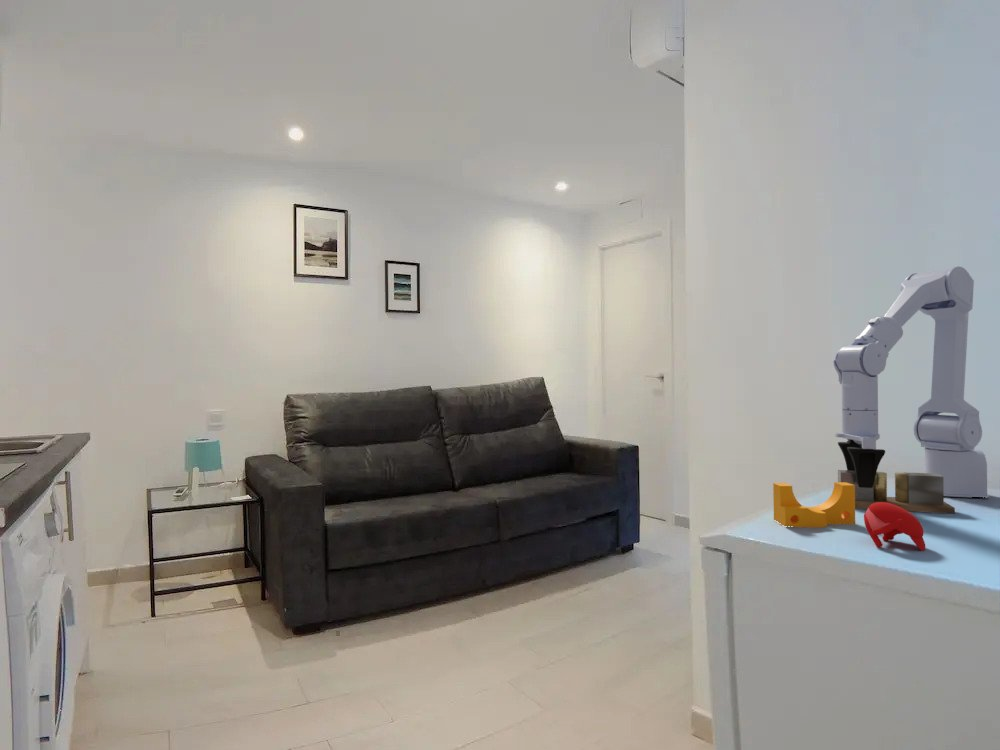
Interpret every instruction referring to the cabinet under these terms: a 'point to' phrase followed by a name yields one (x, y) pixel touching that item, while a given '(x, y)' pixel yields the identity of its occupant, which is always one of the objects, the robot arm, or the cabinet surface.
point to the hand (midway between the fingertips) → (860, 483)
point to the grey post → (866, 494)
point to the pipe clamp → (829, 512)
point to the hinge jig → (916, 493)
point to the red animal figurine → (892, 523)
